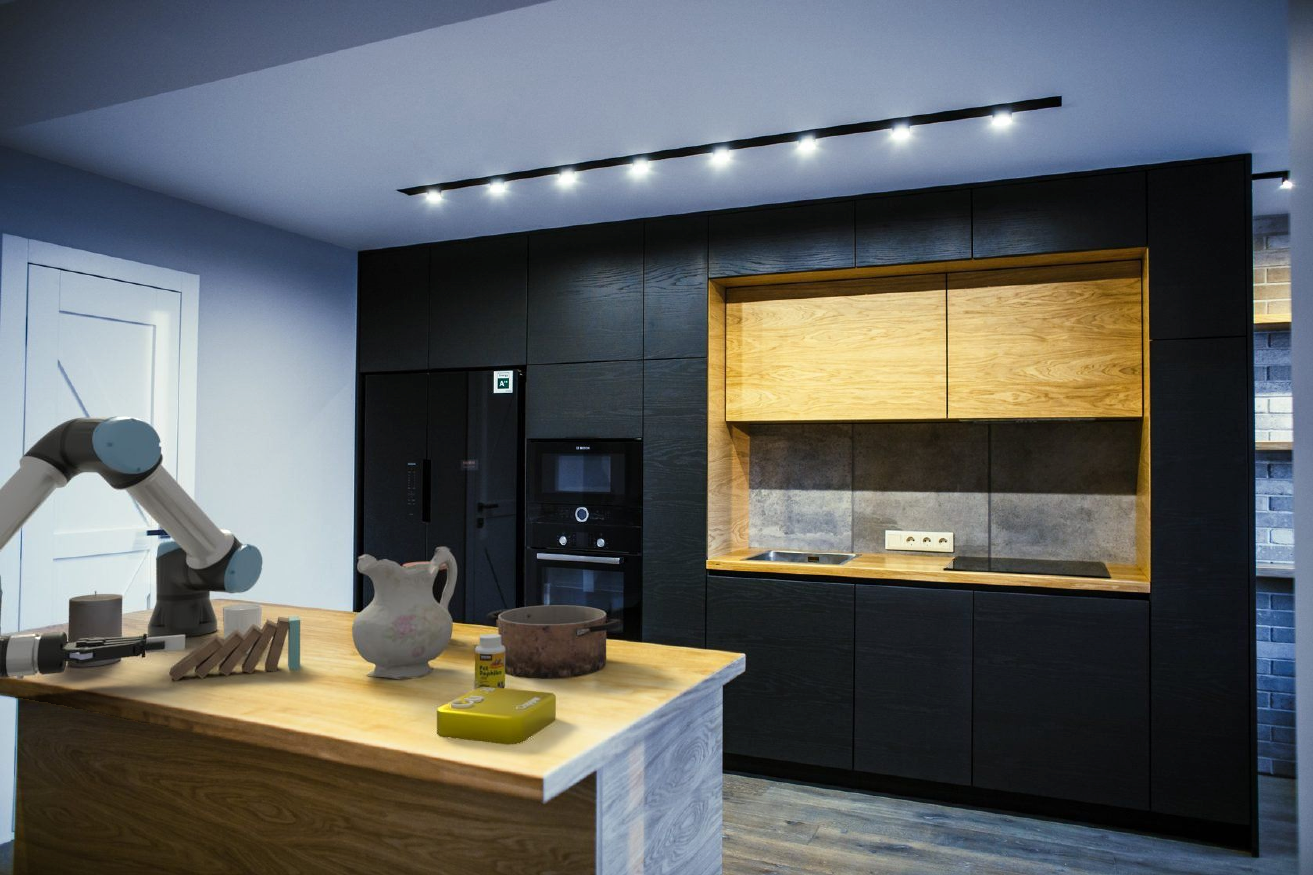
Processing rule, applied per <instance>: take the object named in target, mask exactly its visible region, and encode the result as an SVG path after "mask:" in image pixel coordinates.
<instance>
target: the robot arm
mask: <svg viewBox="0 0 1313 875" xmlns="http://www.w3.org/2000/svg"><path fill="white" fill-rule="evenodd" d="M161 442H162V441H161V438H160V435H159V434H158V432H157V430H156V429H155V428H154V427H153V426H152V425H151V424H150V423H148V422H146V421H145V420H143V419H140V418H136V417H130V416H125V415H123V416H122V415H117V416H111V417H108V416H107V417H105V416H104V417H75V418H73V419H72V418H71V419H69V420H67V421H66V420H65V421H64V422H62V423H60V424H58V425H57V426H55V427H54V428H52V429H51V430H50V431H48V432H47V433H45V435H43V436H42V437H41V438H40V439H39V440H38V441H36V442H35V444H33V445H32V447H31V448H29V449H28V450H27V451H26V453H25V454H24V455H23V456H22V457H21V458H20V459H19V460H18V461H19V466H20V467H19V468H18V469H17V470H16V471H15V472H14V474H12V476H11V477H10V478H9V479H8V480H7V481H6V482H5V483H4V484H3V486H1V487H0V552H2V550H4V548H5V546H6V545H7V544H8V543H9V542H10V541H11V540H12V539H13V538H14V536H16V534H17V533H19V531H20V530H21V529H22V527H23V526H24V525H25V524H26V523H27V522H28V521H29V519H31V517H32V516H33V515H34V514H35V513H36V512H37V511H38V509H39V508H41V506H42V505H43V504H44V502H45V501H46V500H47V499H48V498H49V497H50V496H51V495H52V493H53V492H54V491H55V490H56V489H60V488H64V487H66V486H67V484H69V483H70V481H71V480H72V479H73V478H75V477H76V476H78V475H81V474H84V473H96V474H98V475H99V476H100V477H102V478H103V480H104V481H105V482H107V484H108V485H109V486H110V487H111V488H112V489H114V490H118V491H123V490H124V491H126V493H128V494H129V495H130V496H131V497H132V498H133V499H134V500H135V501H136V503H138V505H139V506H140V507H142V509H143V510H144V511H146V513H147V514H148V515H149V516H150V517H151V518H152V519H153V520H154V521H155V522H156V524H158V525H159V526H160V527H161V528H162V530H164V532H166V534H167V535H168V536H169V537H170V538H171V539H172V540H167V541H163V542H161V543H159V544H158V546H157V550H156V551H157V552H156V557H155V561H156V562H155V565H156V567H155V571H156V574H155V575H156V577H155V578H156V579H155V580H156V582H155V584H156V587H155V588H156V589H155V591H156V593H155V594H156V598H155V600H156V601H155V605H154V608H153V611H152V613H151V617H150V619H149V621H148V624H147V633H143V634H142V635H139V636H136V635H135V636H122V637H108V638H96V637H91V638H82V639H78V641H77V642H72V643H68V634H67V633H66V632H64V631H56V632H44V633H43V634H41V635H39V634H38V633H34V632H33V633H24V634H21V633H20V634H12V635H7V636H6V635H1V634H2V632H1V629H2V628H1V627H2V626H0V679H6V678H14V677H16V679H17V680H19V681H20V680H23V679H24V677H26V676H27V677H28V676H35V675H36V674H37V673H39V674H41V675H54V674H61V673H64V671H65V670H66V667H67V661H76V663H79V664H85V663H89V662H94V661H102V660H110V659H117V658H121V659H125V658H132V657H140V656H141V659H143V658H145V657H146V654H152V653H163V652H174V651H185V649H186V637H196V636H200V635H202V636H203V635H206V634H211V633H213V632H215V631H217V630H218V619H217V616H216V613H215V609H214V607H213V605H212V602H211V592H212V593H213V592H215V593H224V594H225V593H227V594H241V593H245V592H247V591H250V590H251V589H252V588H253V587H254V586H255V585H256V584H257V582H258V581H259V579H260V577H261V574H262V570H263V562H264V561H263V556H262V553H261V551H260V549H259V548H258V547H256V546H255V545H253V544H250V543H242V542H240V541H239V539H238V538H237V537H236V536H235V535H234V534H233V533H232V532H231V531H230V530H228V529H224V528H223V529H220V528H218V526H217V525H216V524H215V523H214V521H212V520H211V518H210V517H209V516H208V515H207V514H206V513H205V511H203V510H202V507H200V506H199V505H198V504H197V503H196V502H195V501H194V499H193V498H192V497H191V496H190V495H189V494H188V493H187V491H185V490H184V489H183V488H182V486H181V485H180V484H179V483H178V481H176V479H175V478H174V477H173V476H172V474H170V472H169V471H168V470H167V469H166V468H165V467H164V466H163V465H162V464H163V459H164V456H163V454H162V446H160V443H161ZM3 593H4V592H3V590H2V577H1V575H0V624H1V621H2V620H1V619H2V603H3V601H2V600H3V599H2V597H3Z"/></svg>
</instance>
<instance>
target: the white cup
mask: <svg viewBox="0 0 1313 875" xmlns="http://www.w3.org/2000/svg"><path fill="white" fill-rule="evenodd" d="M262 614H263V605H262V604H259V603H239V604H231V605H227V606H224V607H222V616H223V617H222V618H223V619H222V620H223V641H224V640H225V639H226V638H227V637H228V636H229V635H230V634H231V633H232V632H233V631H234V630H235V629H237V630H238V631H239V632H240V633H242V634H243V635H244V634H245V633H246V632H247V631H248V629H249V628H250V627H251V626H252V625H253V624H255V625H256V626H258V627H259V628H261V627H262ZM261 629H262V628H261ZM252 646H253V645H252ZM250 649H251V648H250ZM250 649H249V650H248V652H247V653H246V654H245V655H247V654H248V653H249V651H250Z"/></svg>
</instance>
